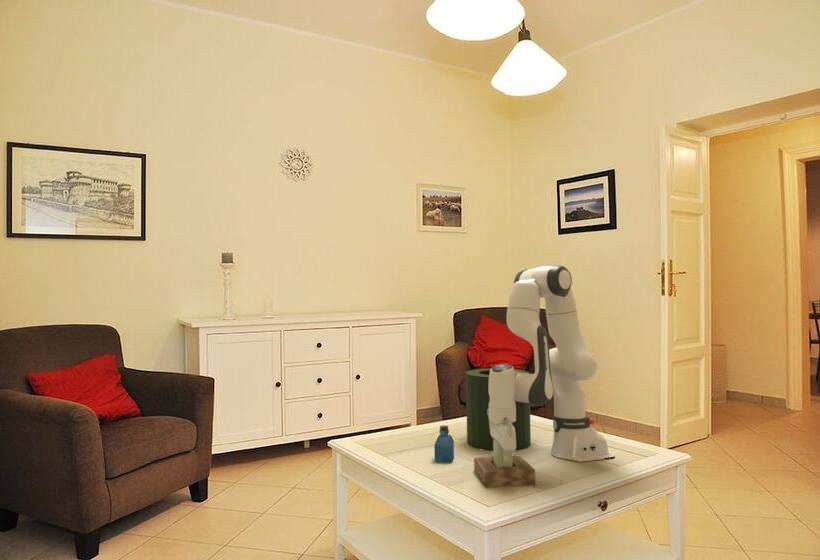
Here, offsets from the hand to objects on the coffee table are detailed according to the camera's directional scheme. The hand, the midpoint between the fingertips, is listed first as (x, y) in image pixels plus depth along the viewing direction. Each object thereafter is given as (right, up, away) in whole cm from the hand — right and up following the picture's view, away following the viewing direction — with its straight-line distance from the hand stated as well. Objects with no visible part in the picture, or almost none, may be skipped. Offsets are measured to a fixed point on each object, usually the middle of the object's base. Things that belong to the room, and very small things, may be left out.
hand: (502, 457), depth 185 cm
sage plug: (0, -4, 0) cm, 4 cm away
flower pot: (+5, -8, +42) cm, 43 cm away
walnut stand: (0, -6, 0) cm, 6 cm away
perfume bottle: (-18, -7, +20) cm, 28 cm away
